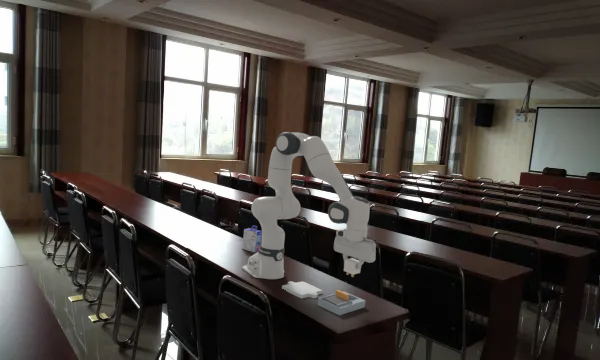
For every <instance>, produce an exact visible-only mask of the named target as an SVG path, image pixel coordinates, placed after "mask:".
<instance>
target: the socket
mask: <svg viewBox="0 0 600 360" xmlns="http://www.w3.org/2000/svg"><path fill="white" fill-rule="evenodd" d="M342 292H344V293H347V294H349V299H348V300H349V301H347V302H343V303H340V304H337V305H334V304H332V303H330V302H328V301H326V300H324V298H327V297H330V296H334V295H336V293H332V294H329V295H325V296H321V297H317V298H318V301H317V306H318V307H321V308H323V309H325V310H327V311H329V312H332V313H333V314H335V315H338V316H343V315H345V314H347V313H351V312H355V311H357V310H360V309H364V308H365V307H366V305H365V304H366V300H365V299H363V298H360V297H358V296H356V295H354V294H351V293H349V292H347V291H344V290H343V291H342Z"/></svg>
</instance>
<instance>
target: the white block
mask: <svg viewBox="0 0 600 360" xmlns="http://www.w3.org/2000/svg"><path fill="white" fill-rule="evenodd" d="M358 264H359V259H357V258H354V257H350V258H348V259H345V264H344V263H343V272H346V275H347V276H349V275H351V276H350V277H352V278H354V277H355V275H357V274H361V269H362V268H361V269H360V270H358V269H356V265H358Z"/></svg>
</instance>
